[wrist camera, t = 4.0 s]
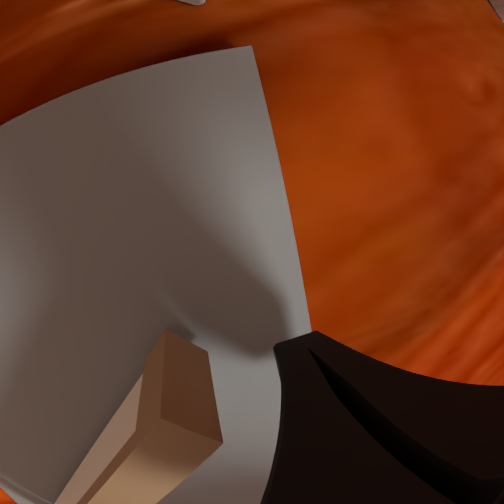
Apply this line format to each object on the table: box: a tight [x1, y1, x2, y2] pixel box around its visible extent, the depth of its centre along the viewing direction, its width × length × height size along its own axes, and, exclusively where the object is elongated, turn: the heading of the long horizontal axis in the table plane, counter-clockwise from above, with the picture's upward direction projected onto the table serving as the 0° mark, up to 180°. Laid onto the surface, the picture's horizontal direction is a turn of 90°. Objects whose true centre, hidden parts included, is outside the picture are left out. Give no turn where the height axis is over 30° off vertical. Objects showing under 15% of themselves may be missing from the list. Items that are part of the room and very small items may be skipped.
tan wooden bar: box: [54, 329, 223, 504], centre depth 8 cm, size 14×1×4 cm, turn 143°
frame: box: [0, 46, 311, 504], centre depth 8 cm, size 21×18×5 cm
